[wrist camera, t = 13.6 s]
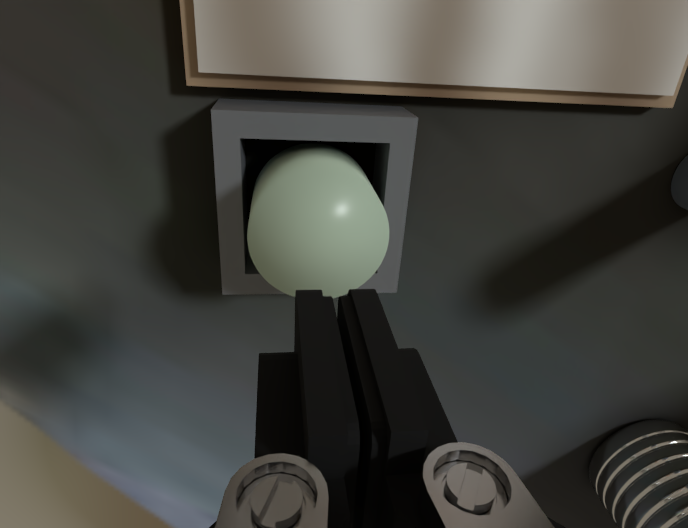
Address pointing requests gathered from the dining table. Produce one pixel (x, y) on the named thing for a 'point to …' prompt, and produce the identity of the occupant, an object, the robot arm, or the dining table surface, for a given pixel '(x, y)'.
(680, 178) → the slate
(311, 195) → the button
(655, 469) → the water bottle
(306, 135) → the button housing
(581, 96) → the worksheet
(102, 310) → the dining table surface
